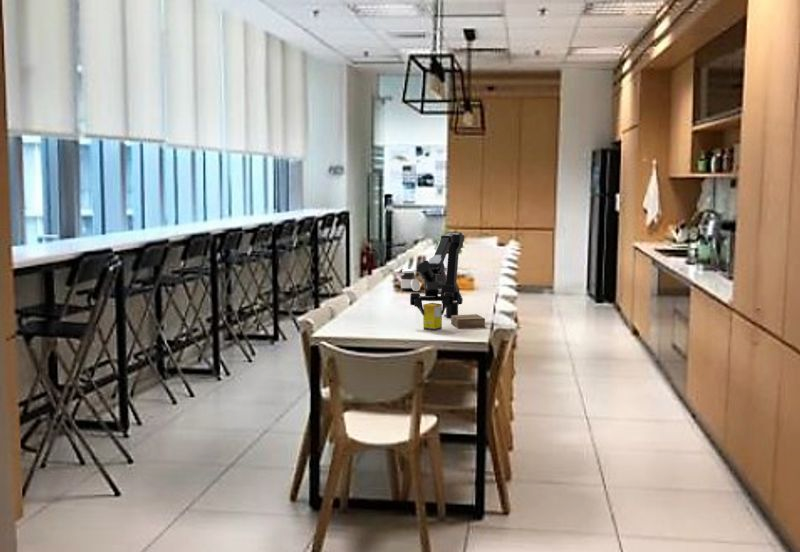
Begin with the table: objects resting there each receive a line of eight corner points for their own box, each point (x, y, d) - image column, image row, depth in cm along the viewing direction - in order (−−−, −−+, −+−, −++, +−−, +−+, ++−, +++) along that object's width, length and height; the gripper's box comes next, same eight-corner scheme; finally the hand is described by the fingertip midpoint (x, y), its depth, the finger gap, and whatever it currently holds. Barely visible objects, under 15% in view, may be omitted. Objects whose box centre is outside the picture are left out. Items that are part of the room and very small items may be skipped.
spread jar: (404, 288, 531) (403, 268, 530) (423, 289, 528) (423, 269, 527) (398, 291, 520) (398, 271, 518) (418, 292, 517) (417, 271, 515)
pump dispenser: (426, 293, 512) (426, 265, 510) (433, 290, 522) (432, 264, 520) (443, 294, 508) (443, 266, 506) (450, 291, 518) (450, 264, 516)
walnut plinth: (451, 324, 411) (451, 315, 410) (476, 323, 413) (476, 314, 413) (458, 328, 399) (458, 319, 398) (484, 327, 401) (484, 318, 401)
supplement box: (431, 327, 403) (431, 302, 401) (442, 328, 399) (442, 303, 398) (422, 329, 398) (422, 304, 397) (433, 330, 394) (433, 305, 393)
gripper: (410, 274, 399) (411, 303, 390) (453, 274, 400) (455, 303, 390) (409, 290, 408) (410, 318, 398) (451, 289, 409) (453, 318, 399)
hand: (432, 314), depth 396 cm, fingers closed on supplement box, 8 cm apart
